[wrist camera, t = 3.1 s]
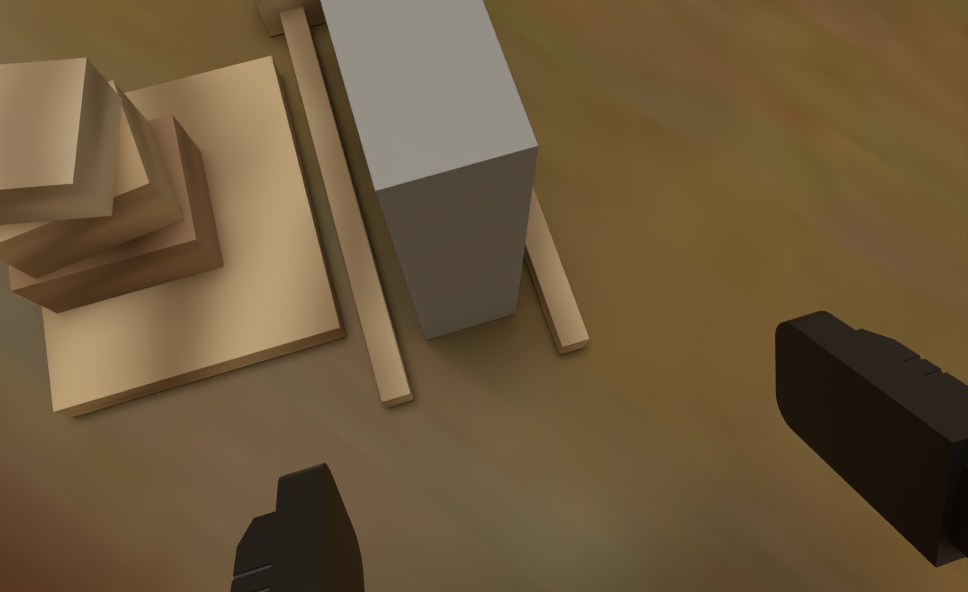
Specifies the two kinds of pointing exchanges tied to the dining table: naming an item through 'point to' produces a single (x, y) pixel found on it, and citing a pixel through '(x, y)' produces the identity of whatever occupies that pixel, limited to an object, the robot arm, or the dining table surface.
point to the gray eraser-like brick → (441, 150)
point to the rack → (258, 247)
